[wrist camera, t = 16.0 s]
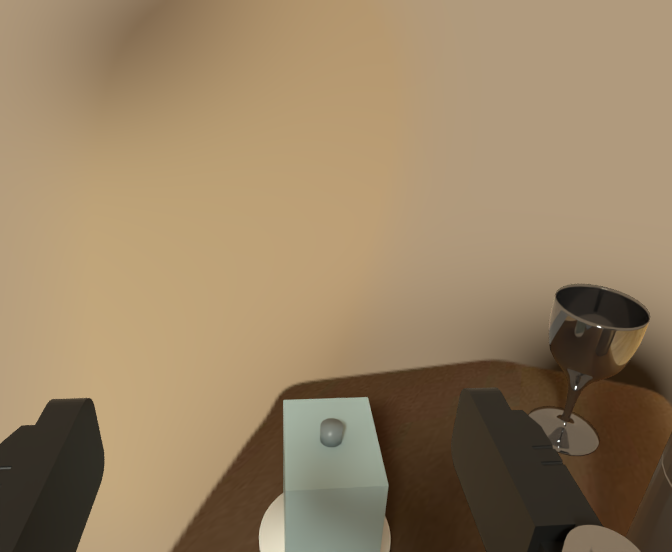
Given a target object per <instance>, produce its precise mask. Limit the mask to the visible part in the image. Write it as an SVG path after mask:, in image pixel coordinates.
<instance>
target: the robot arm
mask: <svg viewBox="0 0 672 552" xmlns="http://www.w3.org/2000/svg"><path fill="white" fill-rule="evenodd" d="M451 448H452V458H453V463H454V467H455V470H456V472H457V475H458V478H459V480H460V483H461V486H462V488H463V491H464V493H465V496H466V499H467V501H468V504H469V507H470V509H471V512H472V515H473V517H474V520H475V523H476V525H477V528H478V530H479V533H480V536H481V538H482V541H483V544H484V546H485V549H486V552H672V433H671V435H670V437H669V440H668V442H667V444H666V446H665V449H664V451H663V454H662V456H661V458H660V461H659V463H658V465H657V467H656V470H655V472H654V474H653V476H652V479H651V481H650V483H649V485H648V488H647V490H646V492H645V494H644V497H643V499H642V501H641V503H640V506H639V508H638V510H637V512H636V515H635V517H634V519H633V521H632V524H631V526H630V528H629V530H628V533H627V535H626V537H624V536H622V535H620V534H619V533H617V532H615V531H613V530H610V529H608V528H605V527H603V525H602V524H601V522H600V521H599V519H598V518H597V516H596V514H595V513H594V511H593V509H592V508H591V506H590V505H589V503H588V501H587V500H586V498H585V496H584V495H583V493H582V492H581V490H580V488H579V487H578V485H577V484H576V482H575V480H574V479H573V477H572V475H571V474H570V472H569V471H568V469H567V467H566V466H565V465H563V463H562V459H561V458H560V456H559V454H558V453H557V451H556V449H553V445H552V443H551V441H550V440H549V438H548V436H547V435H546V433H545V432H544V430H543V428H542V427H541V426H540V425H539V424H538V423H537V422H536V421H535V420H533V419H532V418H531V417H530V416H529V415H527V414H526V413H525V412H524V411H523V410H511V409H510V407H509V405H508V403H507V402H506V400H505V398H504V396H503V395H502V393H501V391H500V390H499V389H498V388H465V389H463V390H462V392H461V394H460V399H459V404H458V409H457V414H456V420H455V425H454V430H453V435H452V443H451ZM103 471H104V449H103V445H102V440H101V435H100V431H99V426H98V421H97V416H96V412H95V407H94V404H93V401H92V400H91V399H90V398H78V399H52V400H51V401H49V402H48V404H47V405H46V407H45V409H44V410H43V412H42V414H41V416H40V417H39V419H38V421H37V423H36V424H35V425H25V426H21V427H19V428H18V429H17V430H16V431H15V432H13V433H12V434H11V435H10V436H9V437H8V438H6V439H5V440H4V441H3V442H2V443H1V444H0V552H76V550H77V547H78V544H79V542H80V539H81V536H82V533H83V530H84V528H85V525H86V522H87V520H88V517H89V514H90V511H91V509H92V506H93V503H94V500H95V498H96V495H97V492H98V489H99V487H100V484H101V481H102V476H103Z"/></svg>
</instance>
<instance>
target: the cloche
mask: <svg viewBox="0 0 672 552" xmlns="http://www.w3.org/2000/svg"><path fill="white" fill-rule="evenodd" d="M388 486H389V485H388V481H387V477H386V473H385V468H384V464H383V460H382V455H381V451H380V447H379V443H378V438H377V434H376V430H375V426H374V421H373V417H372V413H371V409H370V404H369V400H368V397H362V398H332V399H303V400H283V493H284V545H285V552H380V550H381V542H382V534H383V526H384V518H385V510H386V502H387V494H388Z"/></svg>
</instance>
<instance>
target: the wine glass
mask: <svg viewBox="0 0 672 552" xmlns="http://www.w3.org/2000/svg"><path fill="white" fill-rule="evenodd" d="M649 320H650V313H649V311H648V310H647V308H646V307H645V306H644V305H643V304H641V303H640V302H639V301H638V300H636V299H634V298H633V297H631V296H629V295H627V294H624V293H622V292H619V291H617V290H614V289H611V288H607V287H603V286H598V285H591V284H571V285H567V286H563V287H561V288H560V289H559V290H557V292H556V294H555V298H554V301H553V305H552V310H551V315H550V322H549V345H550V350H551V352H552V355H553V357H554V358H555V360H556V362H557V363H558V364H559V366H560V367H561V369H562V370H563V372H564V373H565V375H566V378H567V381H568V394H567V400H566V405H565V408H561V407H555V406H543V407H538V408H536V409H534V410H532V411H531V412H530V413H529V414H528V415H529V416H530V417H531V418H532V419H533V420H535V421H536V422H537V423H538V424H539V425H540V426H541V427H542V428H543V430H544V432H545V433H546V435H547V436H548V438H549V440H550V441H551V443H552V445H553V449H556V451H557V452H559V453H562V454H566V455H573V456H582V455H587V454H590V453H592V452H594V451H595V450H596V449H597V447H598V446H599V436H598V433H597V431H596V429H595V428H594V427H593V425H592V424H591V423H590V422H589V421H587V420H586V419H585V418H583V417H582V416H580V415H579V414H577V413H575V412H573V408H574V406H575V403H576V401H577V399H578V397H579V395H580V394H581V392H582V390H583V389H584V388H585V387H586V386H588V385H589V384H591V383H593V382H596V381H599V380H602V379H605V378H608V377H611V376H613V375H615V374H617V373H618V372H620V371H621V370H622V369H623V368H624V367H625V366H626V365H627V363H628V362H629V361H630V359H631V358H632V357H633V355H634V354H635V352H636V350H637V349H638V347H639V345H640V343H641V341H642V339H643V337H644V334H645V332H646V329H647V326H648V323H649Z"/></svg>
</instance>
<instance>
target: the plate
mask: <svg viewBox="0 0 672 552" xmlns="http://www.w3.org/2000/svg"><path fill="white" fill-rule="evenodd" d="M390 544H391V536H390V529H389V525H388V522H387V519H386V517H385V518H384V526H383V534H382V542H381V550H380V552H389V551H390ZM259 548H260V552H285V545H284V493H282V494H281V495H280V496H279V497H278V498H277V499H276V500H275V501H273V503H272V504H271V505H270V506H269V508H268V509H267V511H266V513H265V515H264V517H263V519H262V522H261V526H260V532H259Z"/></svg>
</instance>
